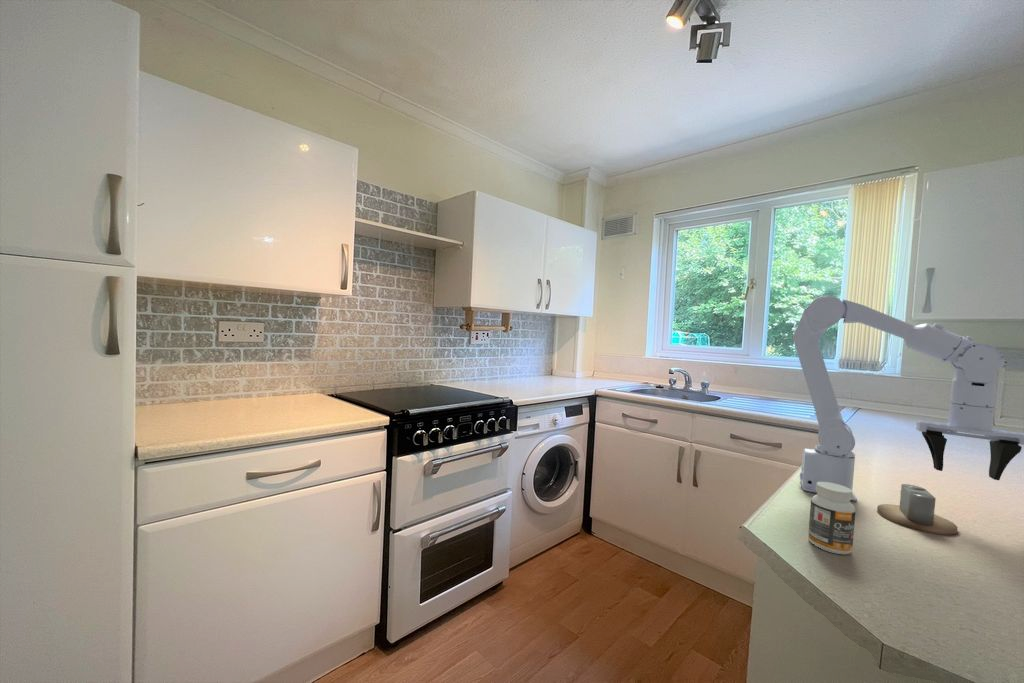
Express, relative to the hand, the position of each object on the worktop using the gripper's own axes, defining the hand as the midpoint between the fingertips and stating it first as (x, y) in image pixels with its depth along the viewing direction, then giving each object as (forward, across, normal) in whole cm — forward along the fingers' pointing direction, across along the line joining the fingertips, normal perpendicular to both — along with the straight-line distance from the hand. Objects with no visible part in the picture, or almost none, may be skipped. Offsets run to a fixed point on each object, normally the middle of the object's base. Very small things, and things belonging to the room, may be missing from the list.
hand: (965, 473), depth 79 cm
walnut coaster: (+9, -8, -6) cm, 14 cm away
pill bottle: (+10, -24, -30) cm, 40 cm away
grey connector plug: (+9, -8, -5) cm, 13 cm away
